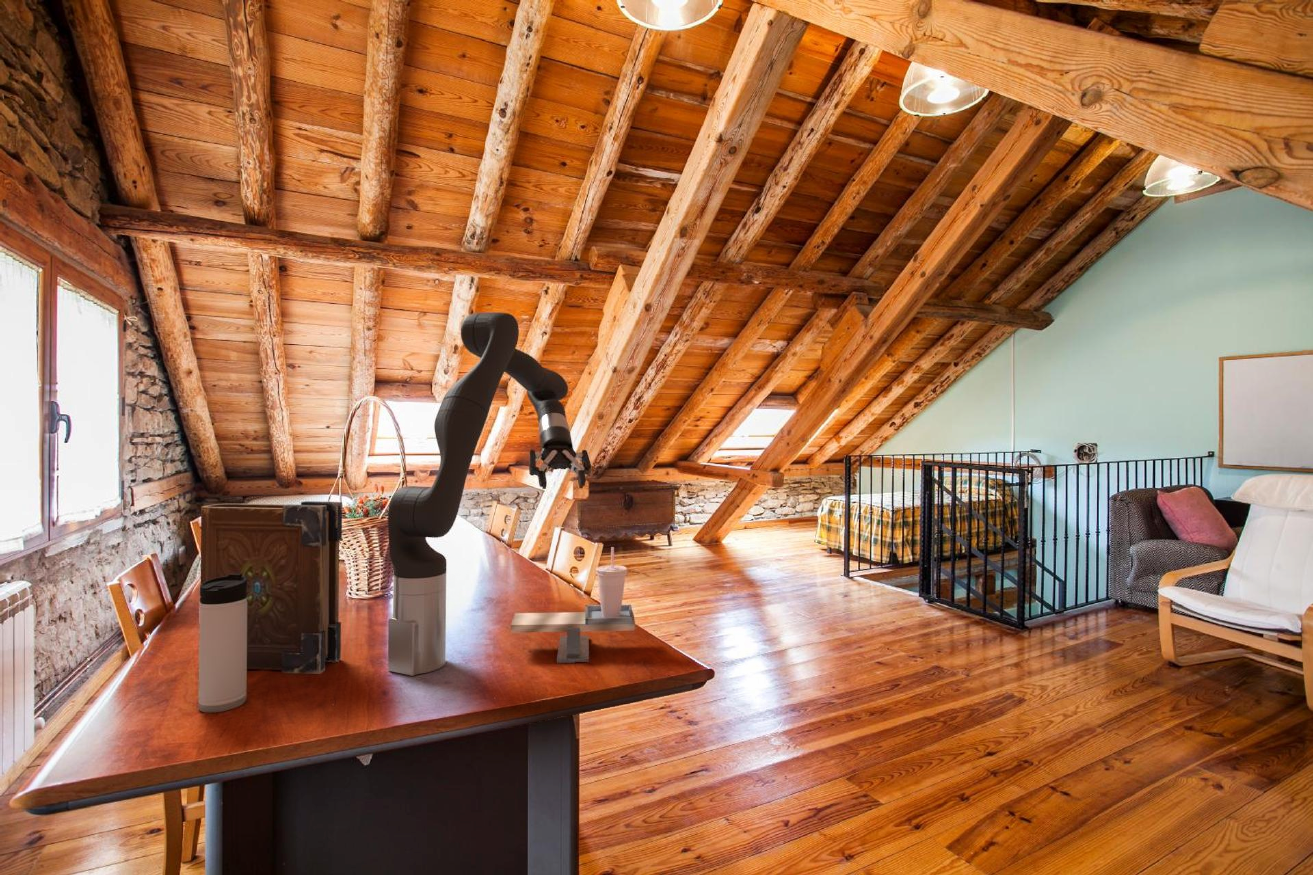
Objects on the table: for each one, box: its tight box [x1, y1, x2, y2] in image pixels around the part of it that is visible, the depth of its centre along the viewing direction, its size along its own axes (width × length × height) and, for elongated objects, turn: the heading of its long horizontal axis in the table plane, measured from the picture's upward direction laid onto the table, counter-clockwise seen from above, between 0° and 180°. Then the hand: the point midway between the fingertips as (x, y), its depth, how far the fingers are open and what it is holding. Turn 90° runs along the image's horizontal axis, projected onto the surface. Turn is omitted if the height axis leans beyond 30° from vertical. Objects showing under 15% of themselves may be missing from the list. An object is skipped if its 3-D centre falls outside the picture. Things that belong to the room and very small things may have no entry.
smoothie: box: [595, 546, 628, 618], centre depth 128 cm, size 6×6×14 cm
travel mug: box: [197, 574, 248, 714], centre depth 100 cm, size 6×7×20 cm
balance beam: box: [510, 604, 636, 634], centre depth 127 cm, size 24×10×3 cm, turn 96°
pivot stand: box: [556, 627, 590, 664], centre depth 127 cm, size 6×14×6 cm, turn 7°
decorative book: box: [200, 500, 343, 675], centre depth 117 cm, size 23×7×30 cm, turn 88°
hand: (563, 486), depth 145 cm, fingers open, 8 cm apart
